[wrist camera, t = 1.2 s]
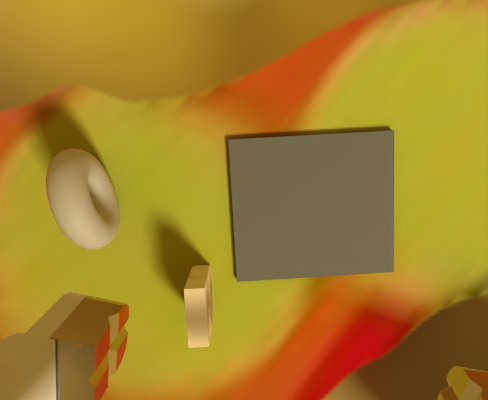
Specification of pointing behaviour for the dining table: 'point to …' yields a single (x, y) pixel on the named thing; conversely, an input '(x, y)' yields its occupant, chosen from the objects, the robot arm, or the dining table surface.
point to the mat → (313, 205)
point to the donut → (82, 198)
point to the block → (199, 306)
